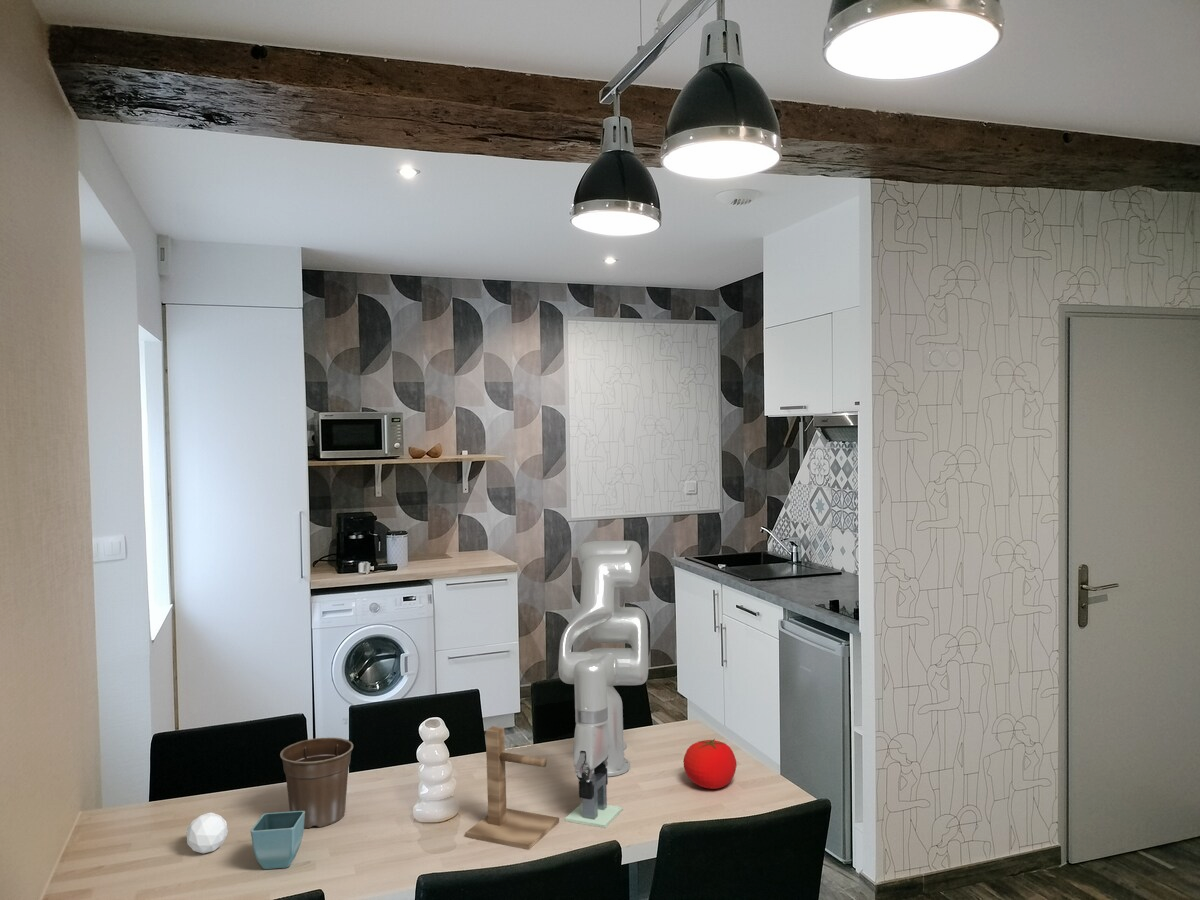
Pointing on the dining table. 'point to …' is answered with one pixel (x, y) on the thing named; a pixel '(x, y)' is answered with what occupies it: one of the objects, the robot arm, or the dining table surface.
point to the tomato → (710, 763)
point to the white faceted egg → (206, 833)
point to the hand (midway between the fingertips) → (593, 790)
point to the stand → (500, 820)
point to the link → (595, 797)
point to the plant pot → (317, 778)
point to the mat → (600, 821)
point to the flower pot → (277, 838)
